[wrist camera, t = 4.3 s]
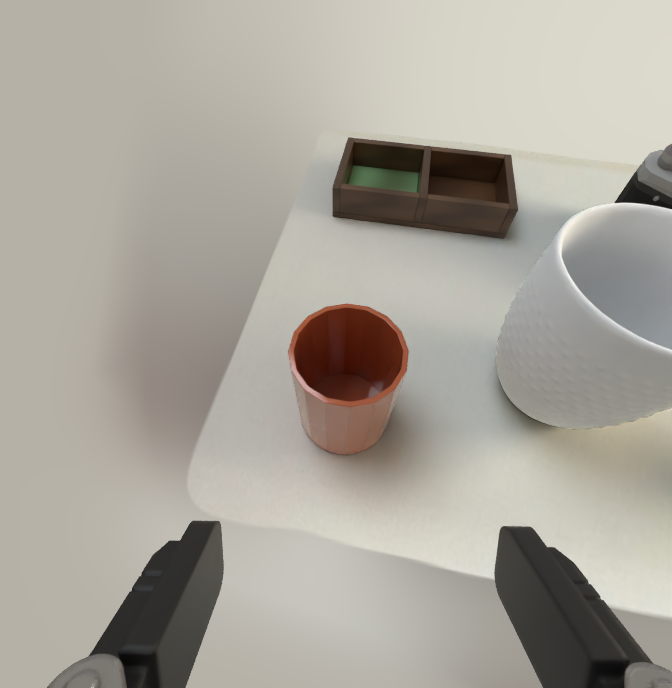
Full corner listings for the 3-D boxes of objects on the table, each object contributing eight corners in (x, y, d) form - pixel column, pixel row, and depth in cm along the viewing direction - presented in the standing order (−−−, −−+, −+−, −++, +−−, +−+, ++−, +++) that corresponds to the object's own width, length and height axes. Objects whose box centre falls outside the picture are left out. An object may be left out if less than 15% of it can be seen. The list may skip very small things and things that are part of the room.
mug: (555, 290, 35) (660, 156, 24) (669, 373, 30) (867, 255, 19) (444, 371, 30) (510, 252, 19) (559, 485, 25) (737, 416, 14)
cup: (291, 445, 26) (275, 393, 19) (311, 367, 30) (304, 296, 22) (382, 463, 26) (402, 416, 18) (391, 380, 29) (412, 313, 22)
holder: (332, 216, 40) (332, 187, 37) (347, 166, 45) (348, 137, 42) (503, 238, 38) (518, 209, 35) (498, 184, 43) (511, 154, 40)
